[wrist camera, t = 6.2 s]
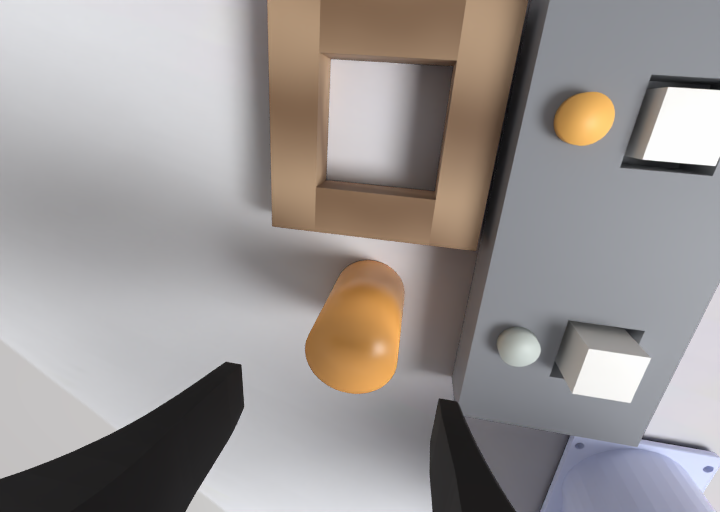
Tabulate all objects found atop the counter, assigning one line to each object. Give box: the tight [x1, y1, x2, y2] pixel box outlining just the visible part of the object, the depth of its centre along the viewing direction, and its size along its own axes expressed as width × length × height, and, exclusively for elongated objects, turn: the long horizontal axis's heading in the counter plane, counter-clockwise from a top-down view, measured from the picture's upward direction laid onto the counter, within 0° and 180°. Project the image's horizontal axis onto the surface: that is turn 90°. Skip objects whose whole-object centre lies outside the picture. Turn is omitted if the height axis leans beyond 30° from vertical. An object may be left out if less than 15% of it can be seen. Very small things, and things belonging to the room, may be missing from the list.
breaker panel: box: [452, 0, 720, 447], centre depth 16 cm, size 20×9×4 cm, turn 176°
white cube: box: [624, 87, 720, 166], centre depth 14 cm, size 2×2×2 cm
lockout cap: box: [305, 260, 404, 394], centre depth 18 cm, size 4×4×6 cm
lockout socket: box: [267, 0, 528, 251], centre depth 17 cm, size 10×10×2 cm
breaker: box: [555, 320, 651, 403], centre depth 17 cm, size 2×2×2 cm
